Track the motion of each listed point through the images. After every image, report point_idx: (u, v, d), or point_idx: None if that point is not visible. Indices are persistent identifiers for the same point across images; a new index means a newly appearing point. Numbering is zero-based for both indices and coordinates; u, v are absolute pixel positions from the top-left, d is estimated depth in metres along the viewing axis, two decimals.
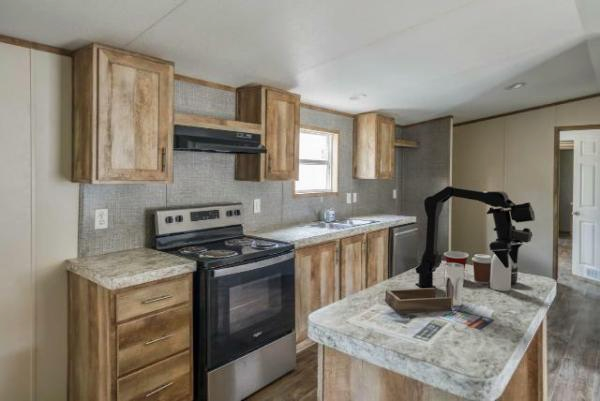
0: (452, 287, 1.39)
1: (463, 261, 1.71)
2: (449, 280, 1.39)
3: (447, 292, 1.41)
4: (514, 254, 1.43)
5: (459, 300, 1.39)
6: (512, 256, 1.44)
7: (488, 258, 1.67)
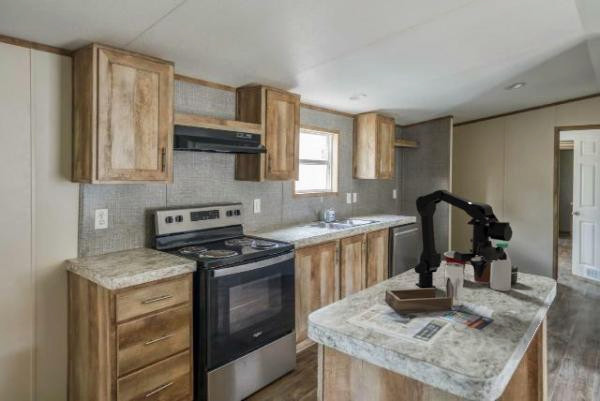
0: (452, 287, 1.39)
1: (463, 261, 1.71)
2: (449, 280, 1.39)
3: (447, 292, 1.41)
4: None
5: (459, 300, 1.39)
6: None
7: None
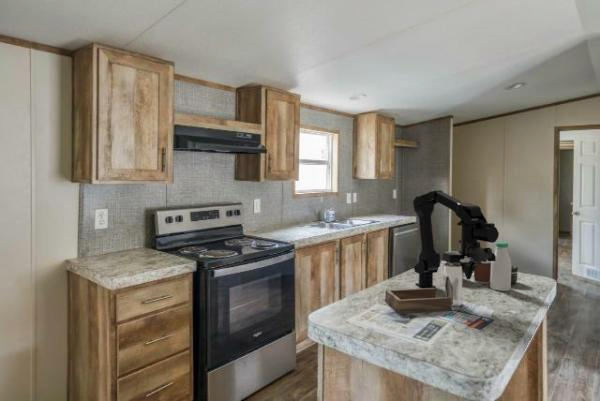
0: (451, 287, 1.39)
1: None
2: (448, 280, 1.39)
3: (447, 292, 1.41)
4: None
5: (459, 300, 1.39)
6: None
7: None
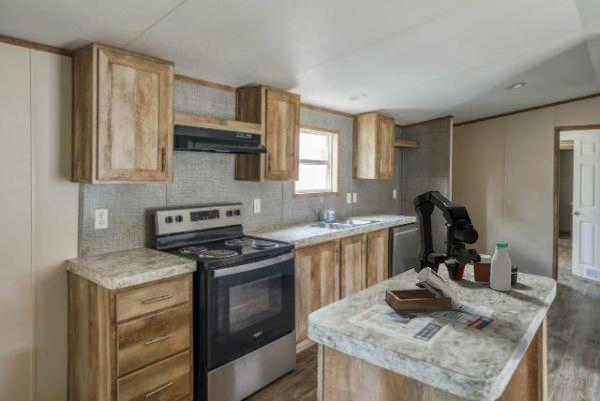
0: (437, 293, 1.38)
1: None
2: (431, 290, 1.38)
3: (438, 296, 1.40)
4: None
5: (452, 295, 1.39)
6: None
7: (488, 258, 1.67)
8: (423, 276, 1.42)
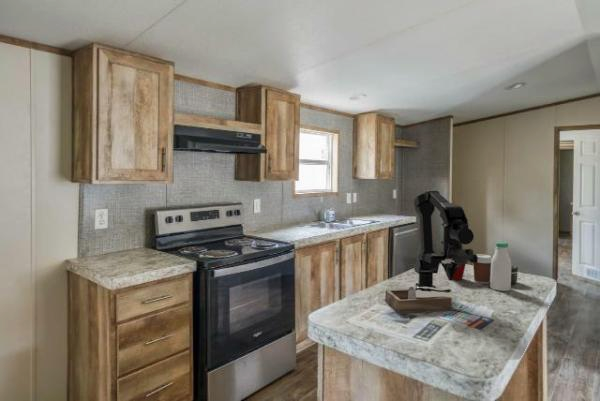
0: None
1: None
2: None
3: None
4: None
5: None
6: None
7: (488, 258, 1.67)
8: (413, 291, 1.41)
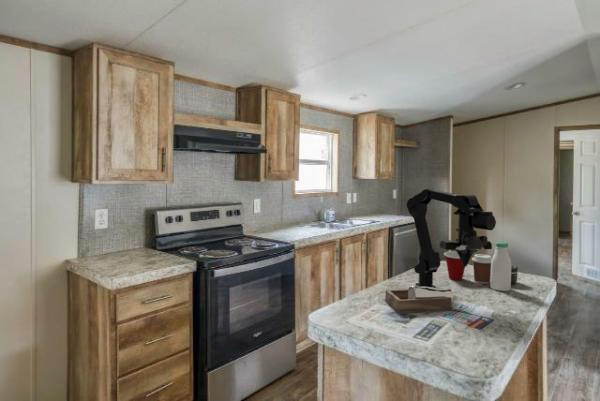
0: None
1: None
2: None
3: None
4: (466, 258, 1.46)
5: None
6: None
7: (488, 258, 1.67)
8: (413, 292, 1.42)
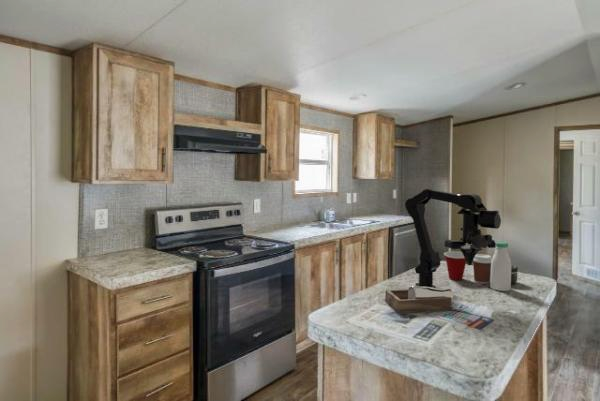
0: None
1: (463, 261, 1.71)
2: None
3: None
4: None
5: None
6: None
7: (488, 258, 1.67)
8: (413, 292, 1.42)
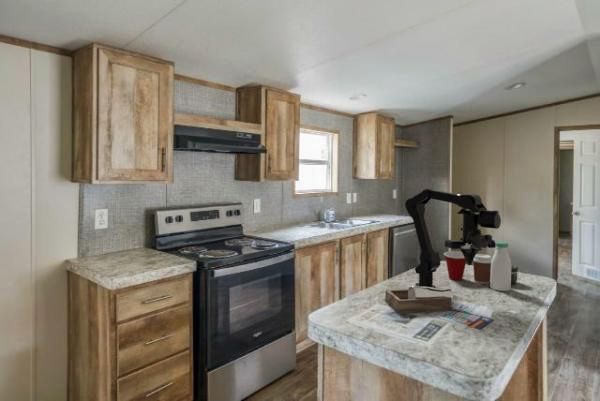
0: None
1: (463, 261, 1.71)
2: None
3: None
4: None
5: None
6: None
7: (488, 258, 1.67)
8: (413, 292, 1.42)
